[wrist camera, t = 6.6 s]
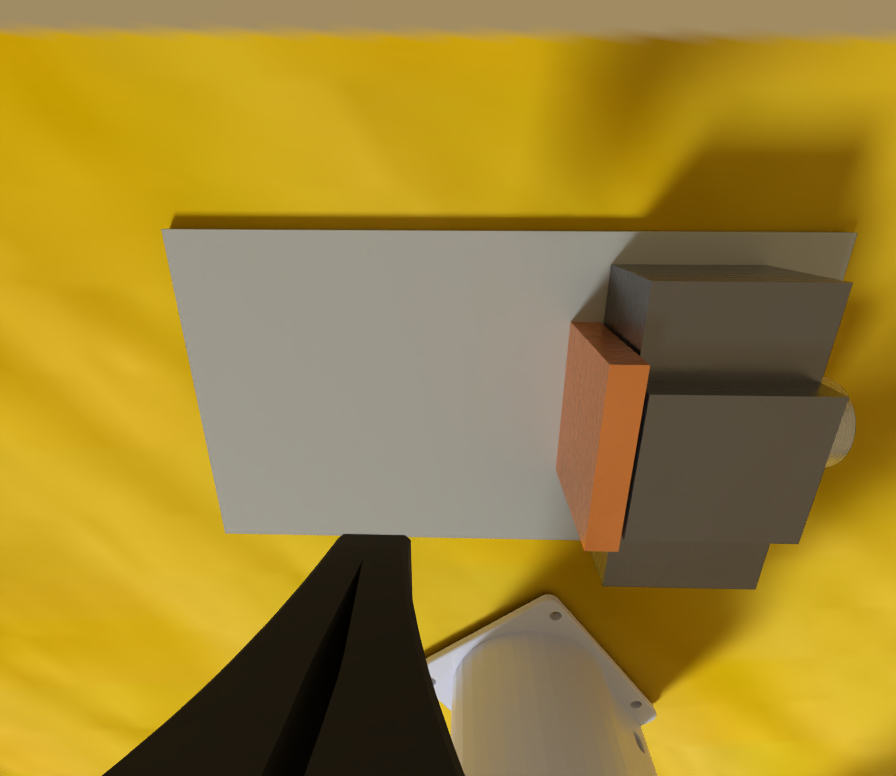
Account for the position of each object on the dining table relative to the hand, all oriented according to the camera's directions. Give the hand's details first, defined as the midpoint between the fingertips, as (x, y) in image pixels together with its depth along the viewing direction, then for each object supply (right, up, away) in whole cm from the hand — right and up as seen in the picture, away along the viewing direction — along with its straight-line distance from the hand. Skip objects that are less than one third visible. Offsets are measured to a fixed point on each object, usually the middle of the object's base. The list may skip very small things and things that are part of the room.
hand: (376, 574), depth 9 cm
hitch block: (+9, +3, +8) cm, 12 cm away
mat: (+3, +3, +8) cm, 9 cm away
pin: (+10, +3, +7) cm, 13 cm away
